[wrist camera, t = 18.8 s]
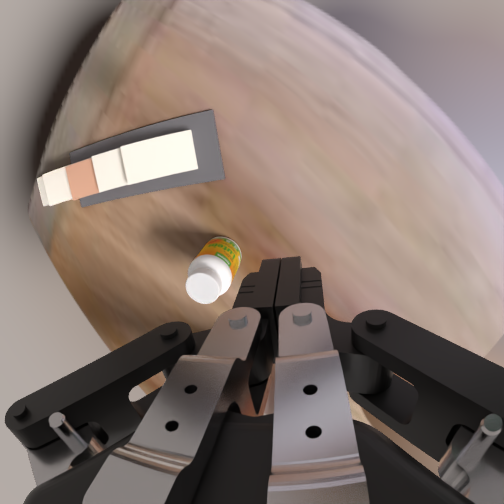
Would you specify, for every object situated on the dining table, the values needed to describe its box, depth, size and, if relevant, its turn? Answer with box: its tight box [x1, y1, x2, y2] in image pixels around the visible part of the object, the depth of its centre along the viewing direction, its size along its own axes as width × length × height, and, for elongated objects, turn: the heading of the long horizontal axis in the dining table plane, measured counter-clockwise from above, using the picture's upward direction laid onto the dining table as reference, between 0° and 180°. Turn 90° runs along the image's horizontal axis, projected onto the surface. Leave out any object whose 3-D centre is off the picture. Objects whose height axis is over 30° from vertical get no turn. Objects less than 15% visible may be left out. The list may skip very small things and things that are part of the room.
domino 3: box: [65, 158, 99, 200], centre depth 38 cm, size 2×5×9 cm
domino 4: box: [92, 148, 128, 193], centre depth 37 cm, size 2×5×9 cm
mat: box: [69, 110, 225, 207], centre depth 39 cm, size 24×9×1 cm, turn 99°
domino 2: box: [42, 158, 90, 206], centre depth 38 cm, size 2×5×9 cm
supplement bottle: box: [186, 237, 241, 304], centre depth 38 cm, size 5×5×10 cm
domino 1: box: [37, 176, 49, 206], centre depth 41 cm, size 2×5×9 cm
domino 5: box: [120, 130, 198, 185], centre depth 35 cm, size 2×5×9 cm
